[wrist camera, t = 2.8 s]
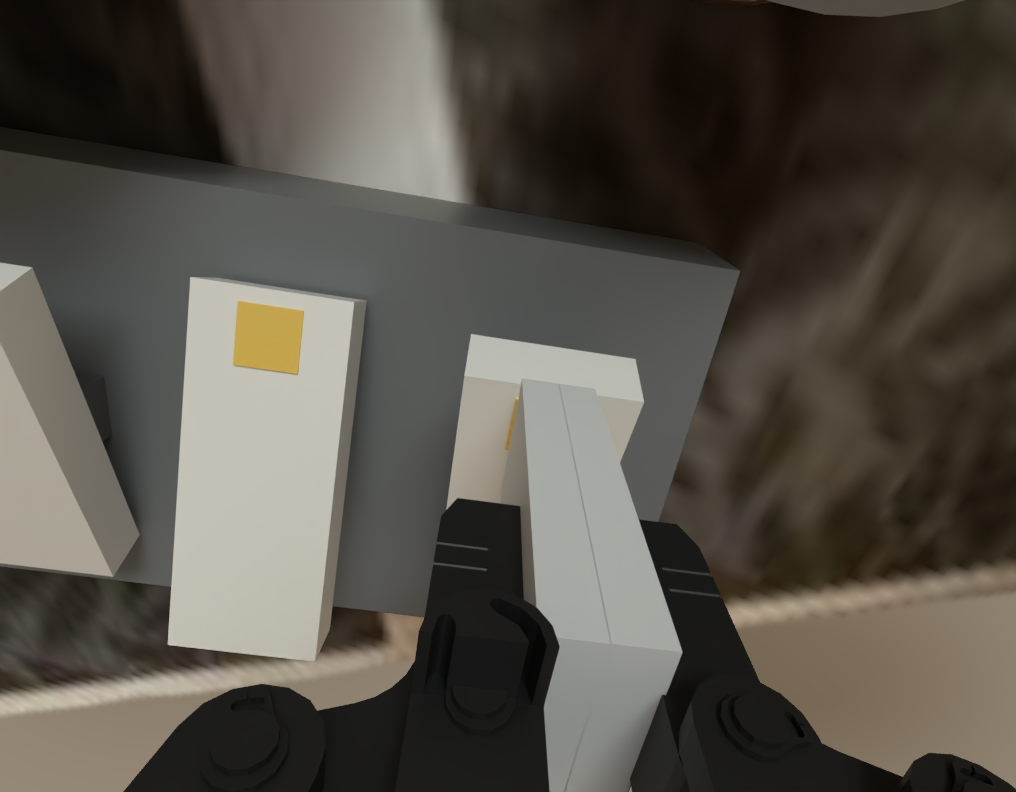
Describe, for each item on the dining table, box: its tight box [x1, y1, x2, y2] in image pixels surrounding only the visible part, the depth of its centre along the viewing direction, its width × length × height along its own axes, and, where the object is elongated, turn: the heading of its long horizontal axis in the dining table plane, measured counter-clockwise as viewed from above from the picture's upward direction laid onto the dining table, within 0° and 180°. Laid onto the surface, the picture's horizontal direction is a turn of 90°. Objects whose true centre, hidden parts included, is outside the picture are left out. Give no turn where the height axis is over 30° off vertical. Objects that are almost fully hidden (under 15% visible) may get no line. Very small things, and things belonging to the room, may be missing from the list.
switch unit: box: [0, 127, 740, 617], centre depth 20 cm, size 14×24×5 cm, turn 81°
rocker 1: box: [0, 263, 140, 577], centre depth 16 cm, size 10×4×2 cm, turn 171°
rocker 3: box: [446, 334, 644, 510], centre depth 17 cm, size 10×4×2 cm, turn 171°
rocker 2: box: [168, 277, 367, 662], centre depth 16 cm, size 10×4×2 cm, turn 171°
